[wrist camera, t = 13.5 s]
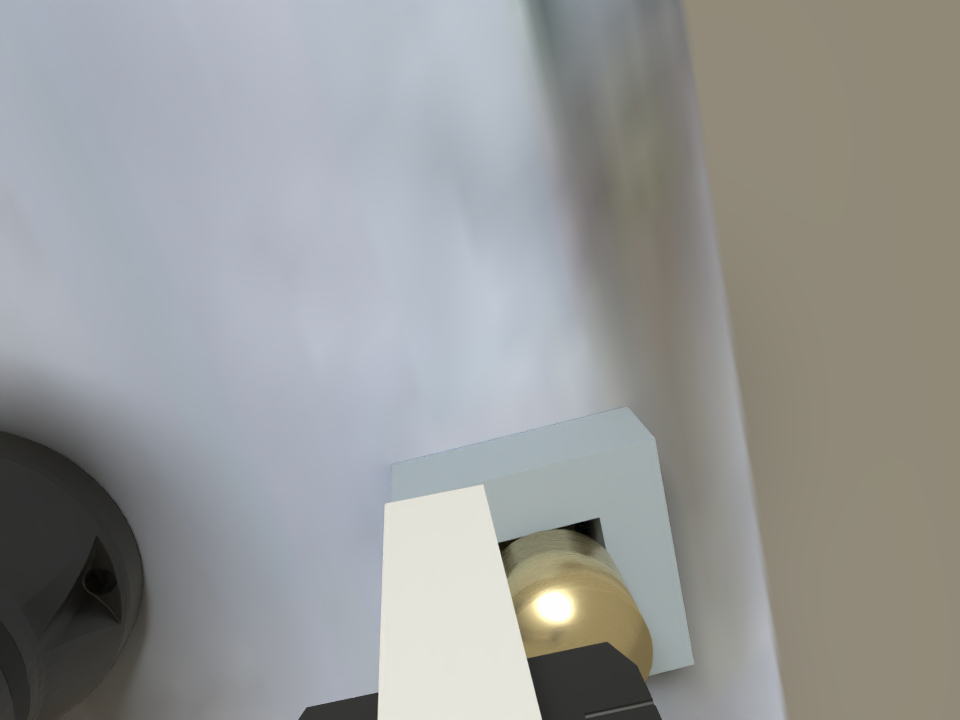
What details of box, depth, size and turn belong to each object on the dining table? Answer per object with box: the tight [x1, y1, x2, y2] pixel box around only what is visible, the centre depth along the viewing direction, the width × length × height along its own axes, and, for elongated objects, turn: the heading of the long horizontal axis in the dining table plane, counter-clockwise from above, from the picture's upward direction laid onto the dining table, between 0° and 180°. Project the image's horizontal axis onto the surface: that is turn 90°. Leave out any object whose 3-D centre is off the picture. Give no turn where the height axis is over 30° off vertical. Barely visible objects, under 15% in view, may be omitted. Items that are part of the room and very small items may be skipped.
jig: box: [391, 407, 694, 676], centre depth 40 cm, size 12×12×4 cm
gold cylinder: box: [498, 524, 653, 683], centre depth 37 cm, size 6×6×10 cm
